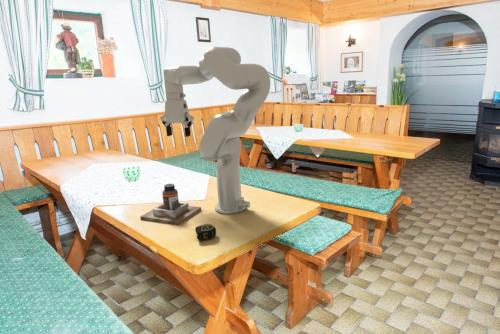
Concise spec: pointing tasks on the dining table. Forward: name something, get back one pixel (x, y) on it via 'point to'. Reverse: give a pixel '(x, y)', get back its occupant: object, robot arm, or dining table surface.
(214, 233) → the tape measure
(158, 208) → the holder
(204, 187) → the dining table surface
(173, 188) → the supplement bottle
